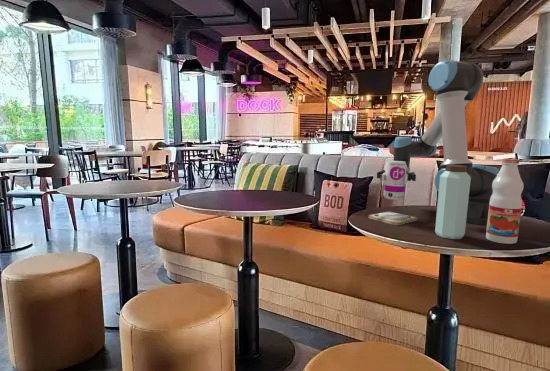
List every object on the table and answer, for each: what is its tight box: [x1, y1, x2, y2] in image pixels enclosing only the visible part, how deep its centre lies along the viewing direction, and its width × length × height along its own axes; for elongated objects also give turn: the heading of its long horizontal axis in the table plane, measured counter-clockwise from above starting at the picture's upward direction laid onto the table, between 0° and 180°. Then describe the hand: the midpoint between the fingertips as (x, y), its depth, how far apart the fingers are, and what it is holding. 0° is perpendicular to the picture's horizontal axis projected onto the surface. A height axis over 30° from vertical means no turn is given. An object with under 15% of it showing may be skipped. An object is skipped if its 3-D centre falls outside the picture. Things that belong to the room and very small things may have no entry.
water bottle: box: [434, 165, 471, 240], centre depth 133 cm, size 10×10×25 cm
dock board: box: [367, 210, 418, 226], centre depth 157 cm, size 14×14×2 cm
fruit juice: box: [485, 158, 525, 245], centre depth 129 cm, size 9×9×28 cm
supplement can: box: [383, 160, 407, 201], centre depth 154 cm, size 8×8×15 cm
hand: (394, 178), depth 150 cm, fingers closed on supplement can, 8 cm apart
